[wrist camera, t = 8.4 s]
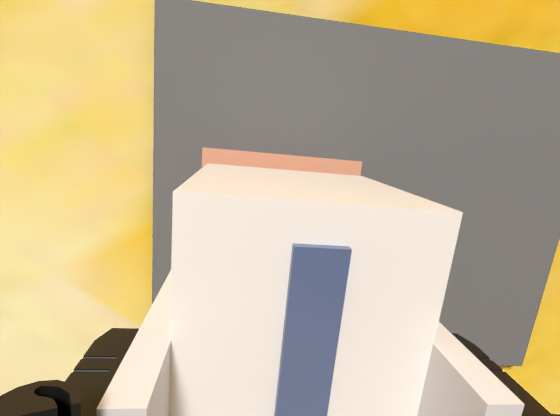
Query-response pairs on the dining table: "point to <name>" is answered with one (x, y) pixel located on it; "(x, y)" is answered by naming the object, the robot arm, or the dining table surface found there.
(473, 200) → the mat
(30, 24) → the dining table surface
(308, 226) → the white box
